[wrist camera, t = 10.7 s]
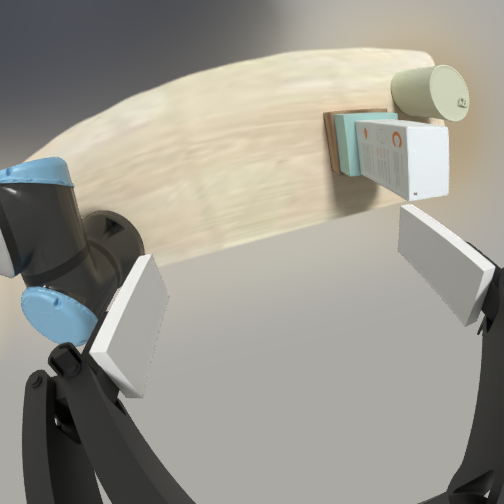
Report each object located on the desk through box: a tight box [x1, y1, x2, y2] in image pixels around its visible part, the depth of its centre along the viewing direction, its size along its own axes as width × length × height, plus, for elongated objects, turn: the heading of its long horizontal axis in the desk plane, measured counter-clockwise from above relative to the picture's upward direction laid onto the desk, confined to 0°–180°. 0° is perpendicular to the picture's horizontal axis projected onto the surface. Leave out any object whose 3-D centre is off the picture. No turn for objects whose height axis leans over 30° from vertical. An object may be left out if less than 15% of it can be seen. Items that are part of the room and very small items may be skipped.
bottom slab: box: [323, 109, 387, 175], centre depth 39 cm, size 10×10×4 cm
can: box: [391, 65, 469, 122], centre depth 31 cm, size 9×9×12 cm
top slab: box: [334, 112, 398, 177], centre depth 36 cm, size 9×9×4 cm
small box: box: [355, 119, 449, 202], centre depth 28 cm, size 8×6×13 cm
